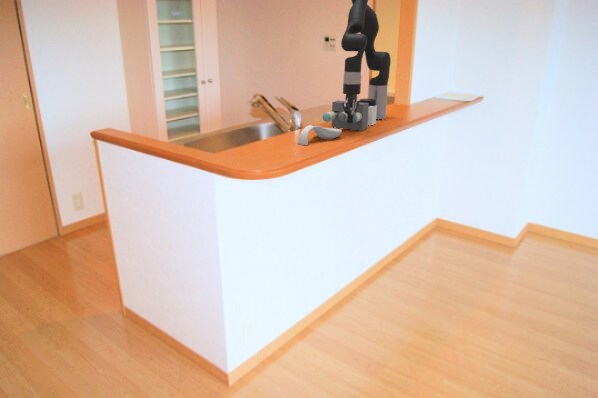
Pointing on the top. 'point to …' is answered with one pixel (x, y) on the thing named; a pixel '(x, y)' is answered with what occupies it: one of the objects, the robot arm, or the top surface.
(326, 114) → the knob left
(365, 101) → the jar
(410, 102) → the top surface
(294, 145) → the top surface
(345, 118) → the knob mid
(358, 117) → the knob right
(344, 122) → the panel
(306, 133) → the spoon rest
